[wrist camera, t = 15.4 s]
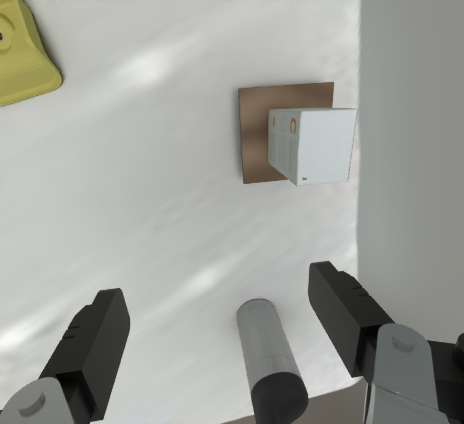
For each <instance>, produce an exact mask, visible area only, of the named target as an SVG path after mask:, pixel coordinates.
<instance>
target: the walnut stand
mask: <svg viewBox="0 0 464 424" xmlns="http://www.w3.org/2000/svg"><path fill="white" fill-rule="evenodd" d="M333 90H334V82H325V83H311V84H297V85H283V86H269V87H255V88H240V89H238V93H239V111H240V130H241V149H242V167H243V183H244V184H249V183H258V182H268V181H278V180H287V179H288V178H286V177H285V176H284V175H283V174H281V173H280V172H279V171H278V170H276V169H275V168H274V167H273V166H271V165H270V164H269V163H268V116H269V110H272V109H293V108H332V103H333Z"/></svg>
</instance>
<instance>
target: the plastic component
mask: <svg viewBox="0 0 464 424" xmlns="http://www.w3.org/2000/svg"><path fill="white" fill-rule="evenodd" d="M0 33H1V34H2V36H3V39H2V40H0V106H4V105H8V104H11V103H14V102H18V101H21V100H24V99H27V98H31V97H34V96H37V95H40V94H44V93H47V92H50V91H53V90H56V89H57V88H59V87H60V85H61V82H62V79H61V75H60V73H59V71H58V69H57V68H56V67H55V66H54V64H53V63H52V62H51V61H50V59H49V58H48V56H47V54H46V53H45V51H44V49H43V46H42V43H41V40H40V37H39V34H38V31H37V28H36V25H35V23H34V20H33V17H32V14H31V11H30V9H29V8H28V7H27V6H26V4H25V3H24V2H23V1H22V0H0Z"/></svg>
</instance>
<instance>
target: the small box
mask: <svg viewBox="0 0 464 424" xmlns="http://www.w3.org/2000/svg"><path fill="white" fill-rule="evenodd" d="M357 111H358V109H351V108H293V109H272V110H269V116H268V163H269V164H270V165H271V166H273V167H274V168H275V169H276V170H278V171H279V172H280V173H281V174H283V175H284V176H285V177H286V178H288V179H289V180H290V181H291V182H293V183H294V184H295V185H296V186H302V185H312V184H324V183H336V182H348V178H349V170H350V163H351V155H352V148H353V140H354V132H355V125H356V118H357Z"/></svg>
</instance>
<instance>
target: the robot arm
mask: <svg viewBox="0 0 464 424" xmlns="http://www.w3.org/2000/svg"><path fill="white" fill-rule="evenodd" d="M308 296H309V300H310V304H311V306H312V308H313V310H314V311H315V313H316V315H317V317H318V318H319V320H320V322H321V324H322V326H323V327H324V329H325V331H326V333H327V334H328V336H329V338H330V340H331V342H332V343H333V345H334V347H335V349H336V350H337V352H338V354H339V356H340V357H341V359H342V361H343V363H344V365H345V366H346V368H347V370H348V372H349V373H350V375H351V377H352V378H353V377H359V376H364V378H365V380H366V381H367V383H368V384H367V390H366V398H365V407H364V416H363V424H449V423H450V424H464V333H463V334H461V335H460V336H459V337H458V340H457V342H456V344H451V343H444V342H436V341H428V340H426V339H425V338H424V337H423V336H422V335H421V334H419V333H418V332H417V331H415V330H413V329H411V328H409V327H407V326H404V325H401V324H396V323H395V322H394V321H393V320H392V319H391V318H390V317H389V316H388V315H387V313H386V312H385V311H384V310H383V309H382V308H381V307H380V306H379V305H378V303H377V302H376V301H375V300H374V299H373V298H372V297H371V296H369V294H368V292H367V291H366V290H365V289H364V288H362V286H361V285H360V283H359V282H358V281H357V280H356V279H355V278H354V277H352V276H351V275H349V274H347V273H346V272H344V271H339V272H338V271H337V270H336V268H335V267H334V266H333V265H332V264H331V262H329V261H324V262H316V263H311V264H310V268H309V285H308ZM237 323H238V328H239V334H240V340H241V345H242V350H243V356H244V361H245V367H246V372H247V378H248V383H249V388H250V394H251V399H252V404H253V410H254V415H255V420H256V424H291V423H292V422H294V421H295V420H296V419H298V418H299V417H300V416H301V415H302V414H303V413H304V411H305V410H306V408H307V405H308V393H307V390H306V387H305V385H304V382H303V380H302V377H301V375H300V372H299V369H298V367H297V364H296V362H295V359H294V356H293V354H292V351H291V348H290V346H289V343H288V341H287V338H286V335H285V333H284V330H283V327H282V325H281V322H280V319H279V317H278V314H277V311H276V309H275V307H274V305H273V304H272V303H271V302H269V301H267V300H262V299H256V300H251V301H249V302H247V303H245V304H244V305H243V306H242V307H241V308H240V309H239V311H238V313H237ZM129 331H130V317H129V313H128V310H127V306H126V303H125V299H124V296H123V293H122V290H121V289H120V288H115V289H107V290H100V291H99V292H98V293H97V295H96V297H95V299H94V301H93V303H92V305H86V306H85V307H84V308H83V309H81V310H80V311H79V312H78V313H77V314H76V315H75V316H74V318H73V320H72V321H71V323H70V325H69V327H68V330H66V332H65V333H64V335H63V337H62V340H60V342H59V344H58V346H57V347H56V349H55V351H54V352H53V354H52V356H51V358H50V359H49V361H48V363H47V364H46V366H45V368H44V370H43V371H42V373H41V375H40V377H39V378H38V380H35V381H33V382H31V383H29V384H27V385H26V386H24V387H23V388H21V389H20V390H19V391H18V392H17V393H15V394H14V395H13V396H12V397H11V399H10V400H9V401H8V402H7V403H6V405H5V406H4V408H3V409H2V410H0V424H90V422H93V421H99V420H103V419H104V415H105V412H106V409H107V405H108V402H109V399H110V395H111V392H112V388H113V385H114V382H115V378H116V375H117V372H118V368H119V365H120V362H121V358H122V355H123V352H124V348H125V345H126V342H127V338H128V335H129ZM448 422H449V423H448Z"/></svg>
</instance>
